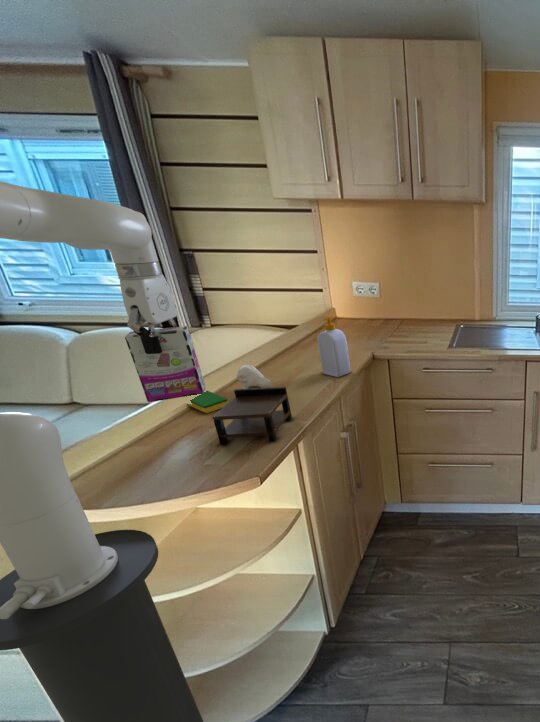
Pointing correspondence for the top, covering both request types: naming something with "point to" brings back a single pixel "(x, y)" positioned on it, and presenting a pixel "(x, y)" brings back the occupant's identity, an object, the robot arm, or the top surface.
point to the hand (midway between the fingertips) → (163, 348)
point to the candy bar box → (167, 365)
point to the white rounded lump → (252, 377)
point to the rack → (253, 414)
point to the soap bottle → (333, 350)
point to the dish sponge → (208, 402)
